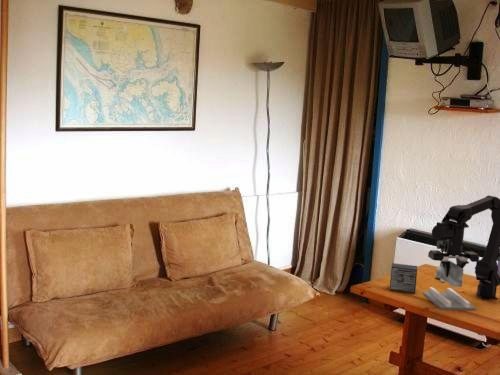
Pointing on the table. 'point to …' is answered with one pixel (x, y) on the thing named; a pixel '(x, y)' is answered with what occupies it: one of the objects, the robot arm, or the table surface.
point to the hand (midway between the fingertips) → (451, 276)
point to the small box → (403, 278)
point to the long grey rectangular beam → (453, 275)
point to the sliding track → (448, 300)
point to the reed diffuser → (439, 271)
